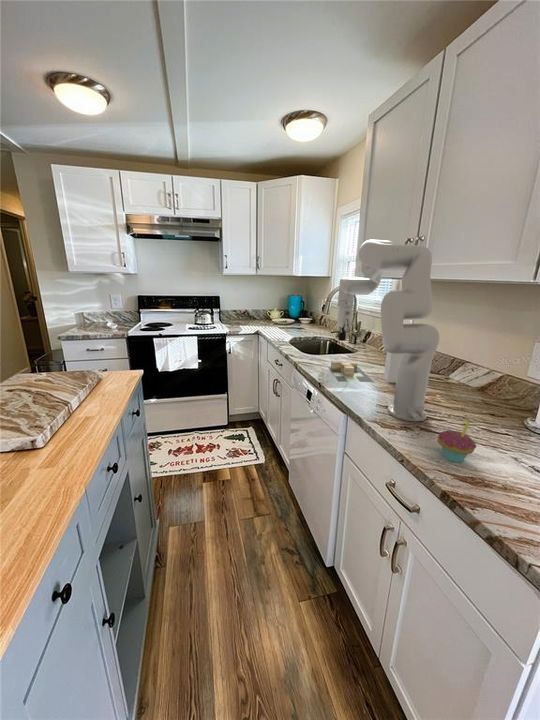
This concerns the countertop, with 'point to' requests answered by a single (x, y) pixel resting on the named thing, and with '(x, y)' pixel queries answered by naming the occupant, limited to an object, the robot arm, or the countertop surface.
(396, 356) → the milk carton
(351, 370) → the t block
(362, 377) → the board
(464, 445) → the cupcake
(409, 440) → the countertop surface
